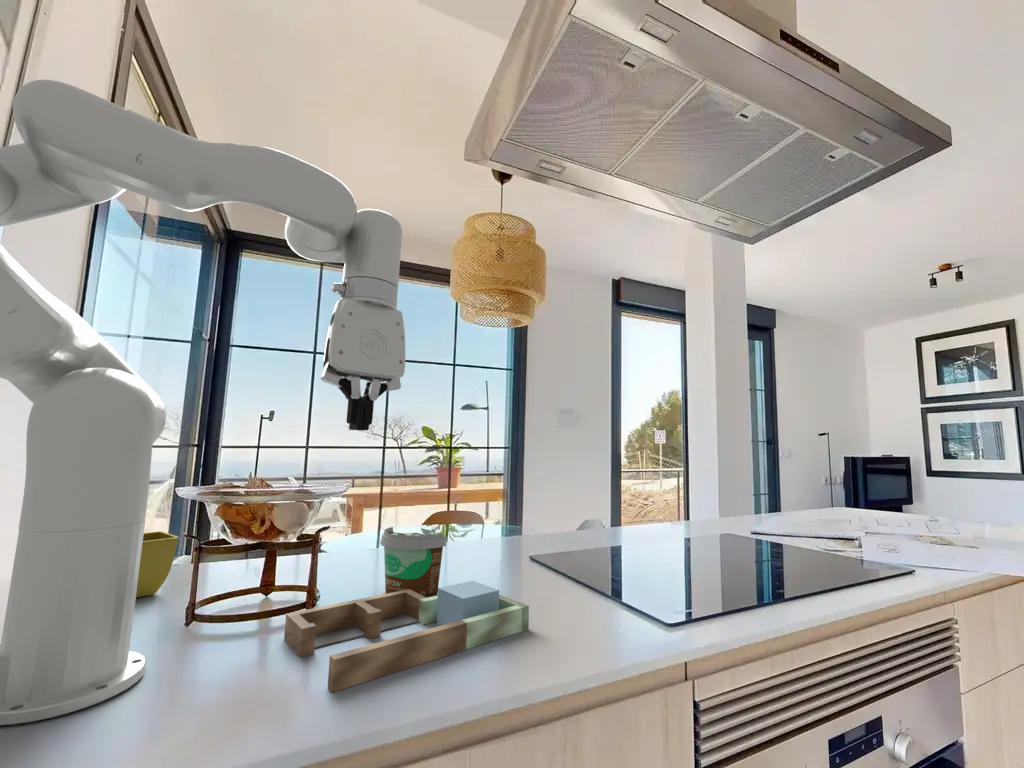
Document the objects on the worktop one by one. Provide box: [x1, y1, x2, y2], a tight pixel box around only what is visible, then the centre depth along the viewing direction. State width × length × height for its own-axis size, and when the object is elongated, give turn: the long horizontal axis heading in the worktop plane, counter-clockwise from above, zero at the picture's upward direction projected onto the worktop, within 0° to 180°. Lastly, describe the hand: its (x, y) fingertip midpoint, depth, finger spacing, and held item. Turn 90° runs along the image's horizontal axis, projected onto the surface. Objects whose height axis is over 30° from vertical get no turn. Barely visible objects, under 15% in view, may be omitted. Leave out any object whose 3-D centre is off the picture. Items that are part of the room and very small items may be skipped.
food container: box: [379, 526, 447, 598], centre depth 77 cm, size 12×6×10 cm, turn 62°
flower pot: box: [136, 530, 179, 598], centre depth 74 cm, size 9×9×9 cm
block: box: [436, 580, 500, 627], centre depth 63 cm, size 6×6×5 cm
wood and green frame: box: [283, 589, 530, 693], centre depth 60 cm, size 26×17×3 cm, turn 131°
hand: (358, 429), depth 63 cm, fingers closed
